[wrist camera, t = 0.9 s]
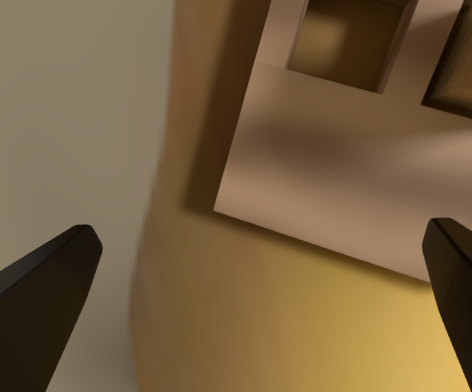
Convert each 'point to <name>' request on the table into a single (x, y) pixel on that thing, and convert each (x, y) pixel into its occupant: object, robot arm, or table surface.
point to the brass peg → (453, 72)
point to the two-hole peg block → (351, 145)
